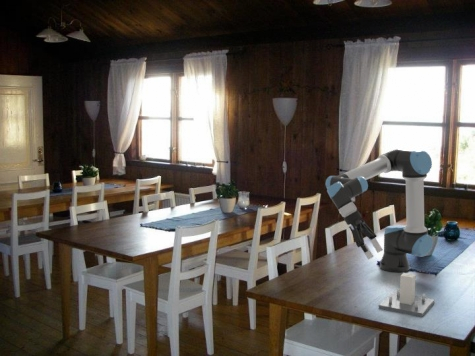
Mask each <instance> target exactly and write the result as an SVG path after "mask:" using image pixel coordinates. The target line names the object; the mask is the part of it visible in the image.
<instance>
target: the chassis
mask: <svg viewBox="0 0 475 356" xmlns="http://www.w3.org/2000/svg"><path fill="white" fill-rule="evenodd" d="M399 302H400V288H398V289H396V292H395V291H393V292H392V293H390V295H389V296H387V297H386V298H385V299H384V300H383V301H382V302H380V304H378V309H380V310H386V311H389V312H395V313H399V314H405V315H409V316H414V317H419V318H423V317H424V316H425V314H426V313H428V311H429V310H430V309H431V308H432V306H434V304H435V299H433V298H429V297H428V298H427V297H426V294H425V293H422V296H417V295H415V300H414V303H413V304H412V305H409V304H403V303H399Z"/></svg>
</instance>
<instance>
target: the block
mask: <svg viewBox="0 0 475 356" xmlns="http://www.w3.org/2000/svg"><path fill="white" fill-rule="evenodd" d="M416 276H417V275H416V274H415V273H409V272H402V274H401V275H400V280H399V281H400V282H399V290H400V302H399V303H403V304H409V305H412V304H413V303H414V300H415V296H416Z"/></svg>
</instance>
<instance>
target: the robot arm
mask: <svg viewBox="0 0 475 356" xmlns="http://www.w3.org/2000/svg"><path fill="white" fill-rule="evenodd" d="M432 161H433V160H432V158H431V156H430V154H428V152H427V151H425V150H423V149H409V148H397V149H393V150H390V151H388V152H385V153H383V154H380V155H378V157H377V158H376V159H374V160H371V161H369V162H367V163H364V164H363V165H360V166H358V167H355V168H353V169H350V170H348V171H346V172H343V173H342V174H339V175H329V176H328V177H327V178H326V179H325V187H326V189H327V190H326V192H327V194H328V196H329V198H330V199H331V201H332V203H333V204H334V205H335V207H336V209H337V210H338V212H339V214H340V215H341V217H342V218H343V221H344V222H345V223H346V225H347V226H348V228H349V230H350V231H351V235H352V238H353V240H354V242H355V244H356V245H355V246H356V247H357V248H360V249H361V251H362V252H363V254H364V255H365V257H366V258H367V260H370V259H372V258H374V254H373V253H372V251H371V250H370V248H369V247H368V245H367V243H365V239H364V236H366V237H367V239H369V241H370V243H371V245H372V247H373V248H374V249H375V251H376V253H377V254H379V253H380V252H382V251H383V255H382V257H381V260H380V263H379V268H380V269H381V270H384V271H386V272H392V273H394V272H395V273H407V272H408V271H409V270H410V263H409V260H408V255H412V256H413V257H420V258H421V257H425V256H427V255H428V254H430V252H431V251H432V248H433V245H434V239H433V238H432V236H431V235H430V234H428V233H429V232H428V228H427V227H426V226H425V195H424V194H425V193H424V192H425V190H424V189H425V188H424V187H425V186H424V184H425V183H424V180H425V179H426V178H427V176H428V174H429V173H430V171H431V169H432V167H433V166H432V165H433V163H432ZM390 172H401V173H402V178H403V179H404V180H405V207H406V208H405V213H406V215H405V216H406V217H405V218H406V225H388V226H386V227H385V228H384V233H383V247H382V246H381V244H380V242H379V241H378V240H377V237H378V236H377V234H376V233H375V231H373V230H372V228H371V227H370V226H369V225H368V224H367V223H366V222H365V220H364V219H362V214H361V213H360V212H359V210H358V207H357V206H356V205H355V203H354V202H353V200H352V199H353V198H355V197H357V196H359V195H360V194H361V195H362V194H363V193H364V192H366V191H367V190H368V189H369V188H368V187H369V184H368V181H367V180H369V179H372V178H374V177H376V176H378V175H381V174H383V173H384V174H387V173H390ZM363 235H364V236H363ZM407 254H408V255H407Z"/></svg>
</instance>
